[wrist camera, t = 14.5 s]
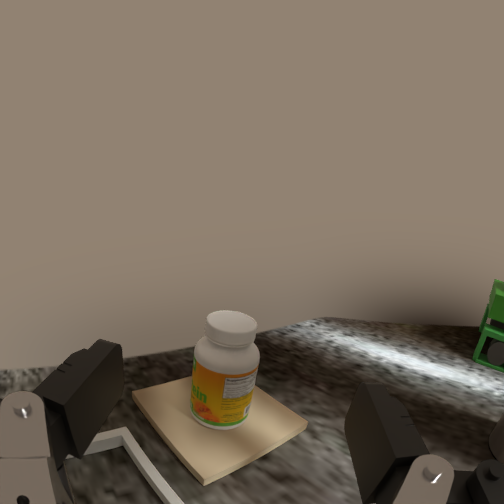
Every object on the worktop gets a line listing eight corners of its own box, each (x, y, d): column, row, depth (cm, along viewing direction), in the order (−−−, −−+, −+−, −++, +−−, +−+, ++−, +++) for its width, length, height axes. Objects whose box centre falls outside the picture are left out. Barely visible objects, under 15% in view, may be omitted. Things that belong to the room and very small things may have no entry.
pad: (227, 371, 35) (228, 364, 34) (305, 429, 26) (308, 421, 26) (132, 398, 26) (132, 391, 26) (203, 486, 18) (204, 479, 18)
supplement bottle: (181, 398, 27) (188, 307, 25) (232, 390, 30) (245, 305, 28) (202, 437, 22) (213, 340, 20) (258, 424, 25) (279, 332, 23)
